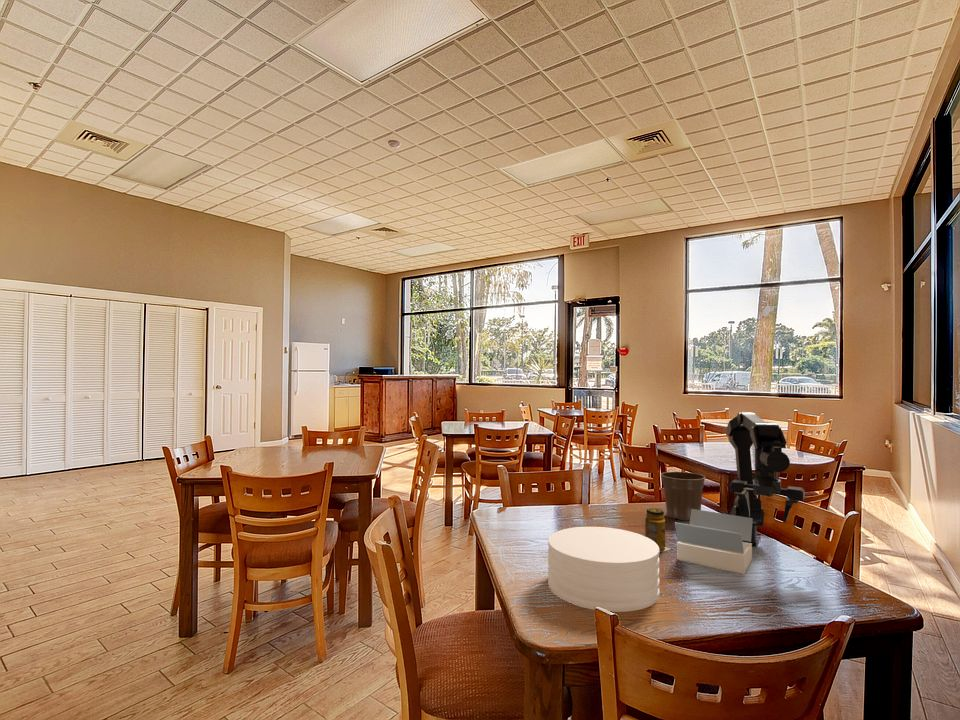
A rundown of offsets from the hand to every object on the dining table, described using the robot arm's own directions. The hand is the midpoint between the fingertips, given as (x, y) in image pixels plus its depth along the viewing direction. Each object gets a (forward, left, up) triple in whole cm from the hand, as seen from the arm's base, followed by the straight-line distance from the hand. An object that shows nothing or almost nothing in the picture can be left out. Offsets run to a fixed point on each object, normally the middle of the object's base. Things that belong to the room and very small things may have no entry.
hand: (766, 519), depth 148 cm
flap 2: (+13, -13, -4) cm, 19 cm away
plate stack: (+43, -32, -13) cm, 56 cm away
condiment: (+6, -31, -13) cm, 34 cm away
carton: (+5, -13, -13) cm, 19 cm away
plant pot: (-37, -33, -13) cm, 51 cm away
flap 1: (-2, -13, -4) cm, 14 cm away
